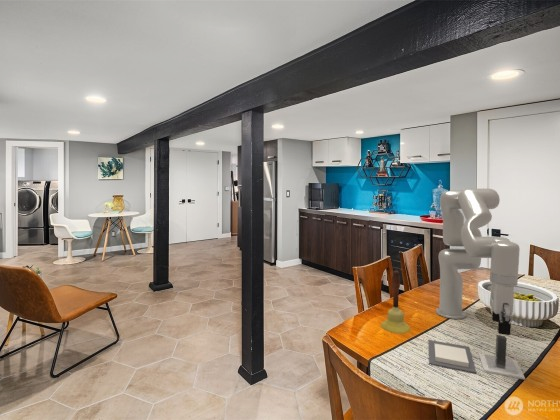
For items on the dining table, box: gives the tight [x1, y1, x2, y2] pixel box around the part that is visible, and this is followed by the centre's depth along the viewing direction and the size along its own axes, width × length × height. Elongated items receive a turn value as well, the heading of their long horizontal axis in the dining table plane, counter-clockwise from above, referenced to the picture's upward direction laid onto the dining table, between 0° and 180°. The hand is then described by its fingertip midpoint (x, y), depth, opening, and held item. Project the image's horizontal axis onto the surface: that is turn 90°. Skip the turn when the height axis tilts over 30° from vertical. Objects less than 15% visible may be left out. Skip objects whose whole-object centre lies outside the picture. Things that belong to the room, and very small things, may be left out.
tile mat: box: [427, 339, 477, 375], centre depth 114 cm, size 18×14×1 cm
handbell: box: [380, 270, 411, 335], centre depth 136 cm, size 12×12×25 cm
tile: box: [435, 344, 469, 368], centre depth 112 cm, size 2×10×10 cm
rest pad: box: [478, 353, 526, 381], centre depth 106 cm, size 11×11×1 cm
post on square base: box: [483, 334, 518, 374], centre depth 106 cm, size 8×8×10 cm
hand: (500, 327), depth 106 cm, fingers open, 9 cm apart
